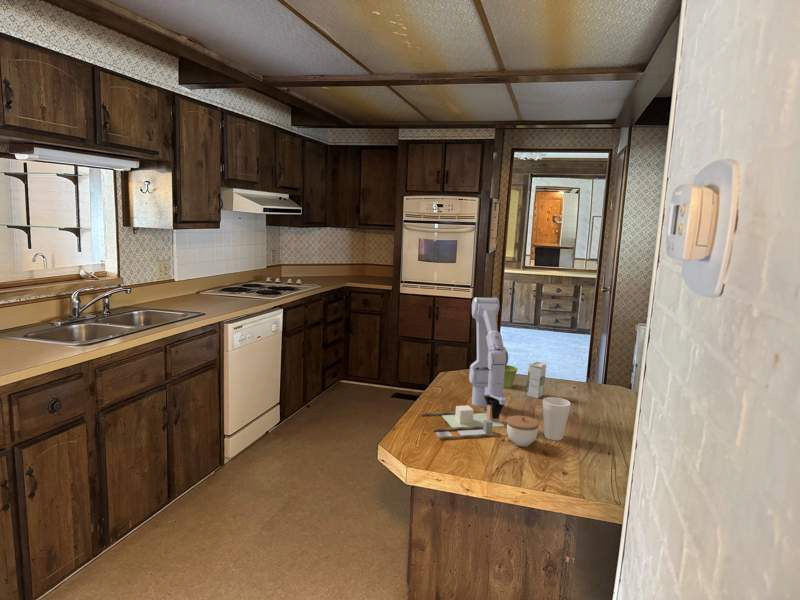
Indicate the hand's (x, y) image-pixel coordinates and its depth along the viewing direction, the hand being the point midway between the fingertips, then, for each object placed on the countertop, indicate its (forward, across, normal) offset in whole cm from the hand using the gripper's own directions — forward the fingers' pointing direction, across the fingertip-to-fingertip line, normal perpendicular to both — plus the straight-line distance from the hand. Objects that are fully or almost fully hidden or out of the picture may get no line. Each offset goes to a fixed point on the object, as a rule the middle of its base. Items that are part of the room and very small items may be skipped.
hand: (493, 416), depth 206 cm
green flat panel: (+2, 0, -8) cm, 8 cm away
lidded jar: (+2, +19, +2) cm, 19 cm away
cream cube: (+1, 0, -12) cm, 12 cm away
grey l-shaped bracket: (+2, +11, -11) cm, 16 cm away
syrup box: (+2, -26, +31) cm, 41 cm away
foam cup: (+2, +16, +16) cm, 23 cm away
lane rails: (+2, +4, -16) cm, 16 cm away
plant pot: (+2, -40, +24) cm, 47 cm away
